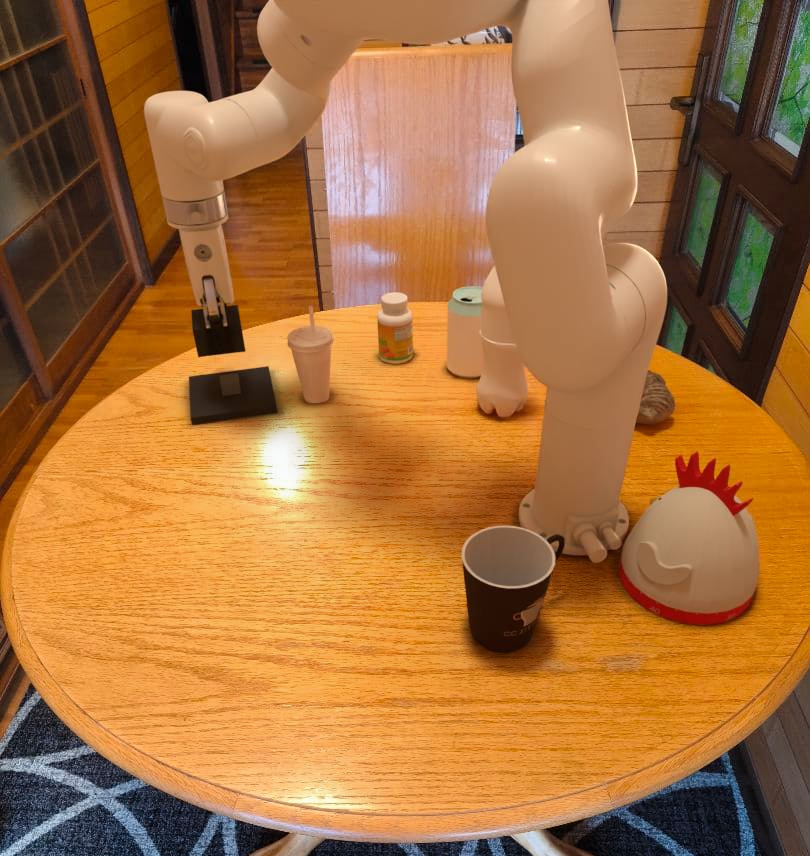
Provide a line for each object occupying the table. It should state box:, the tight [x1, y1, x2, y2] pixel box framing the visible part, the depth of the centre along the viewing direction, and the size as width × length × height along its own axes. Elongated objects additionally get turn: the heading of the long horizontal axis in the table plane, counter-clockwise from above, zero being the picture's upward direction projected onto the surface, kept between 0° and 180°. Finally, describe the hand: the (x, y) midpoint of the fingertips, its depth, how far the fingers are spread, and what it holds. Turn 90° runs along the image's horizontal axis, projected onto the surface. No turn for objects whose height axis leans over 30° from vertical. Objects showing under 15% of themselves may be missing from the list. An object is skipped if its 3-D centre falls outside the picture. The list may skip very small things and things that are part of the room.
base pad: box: [188, 365, 279, 426], centre depth 111 cm, size 12×12×3 cm
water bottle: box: [475, 264, 529, 418], centre depth 100 cm, size 7×7×25 cm
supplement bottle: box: [376, 291, 414, 365], centre depth 118 cm, size 5×5×10 cm
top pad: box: [191, 304, 246, 358], centre depth 105 cm, size 6×6×4 cm
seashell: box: [635, 369, 676, 425], centre depth 104 cm, size 9×7×8 cm
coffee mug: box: [461, 525, 565, 654], centre depth 74 cm, size 12×9×10 cm
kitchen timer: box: [617, 450, 760, 626], centre depth 77 cm, size 14×14×15 cm
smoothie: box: [286, 304, 335, 404], centre depth 107 cm, size 6×6×14 cm
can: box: [446, 285, 483, 379], centre depth 113 cm, size 7×7×12 cm
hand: (220, 339), depth 106 cm, fingers closed on top pad, 6 cm apart
